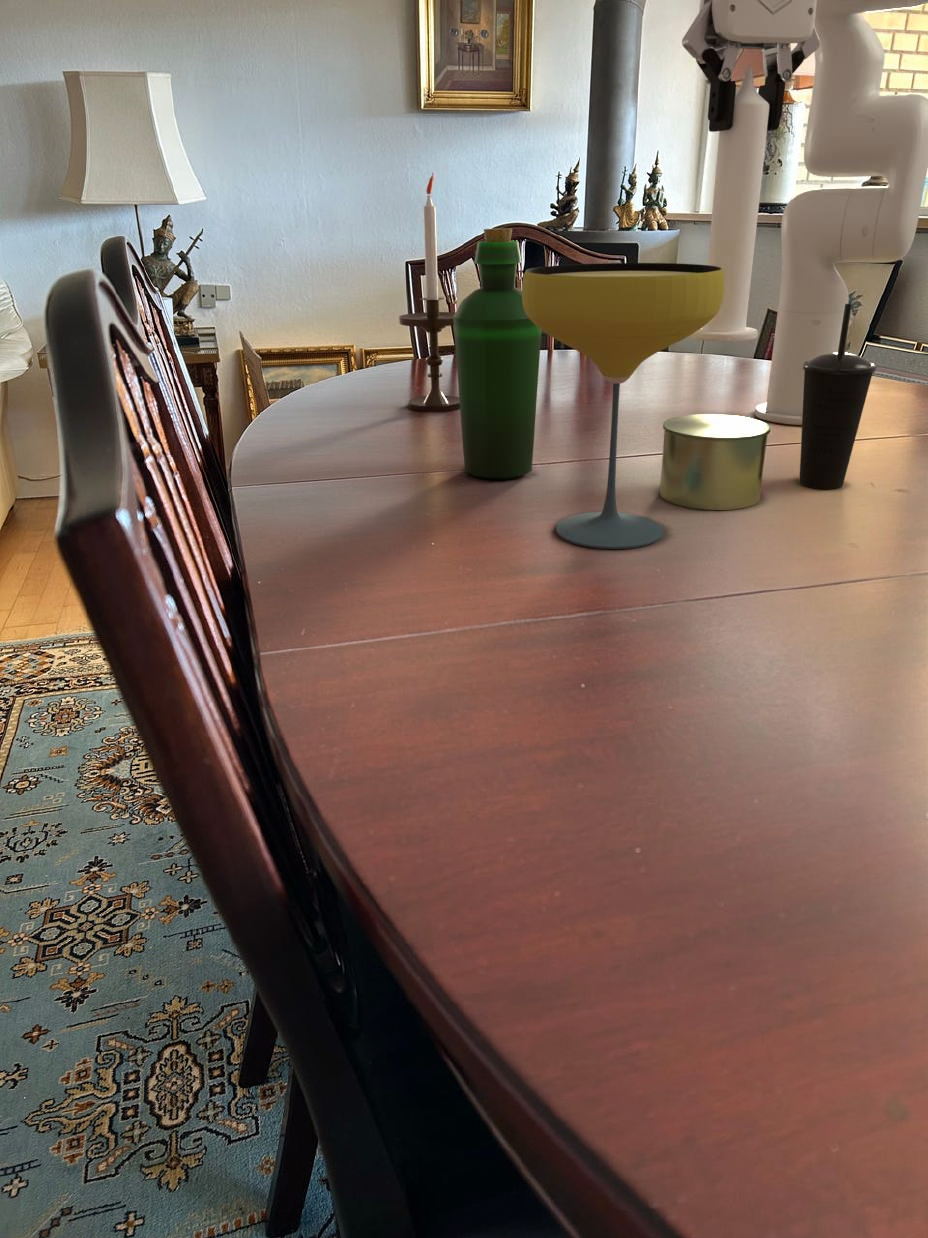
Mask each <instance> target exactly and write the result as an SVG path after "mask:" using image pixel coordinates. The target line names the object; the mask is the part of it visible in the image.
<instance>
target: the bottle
mask: <svg viewBox="0 0 928 1238" xmlns="http://www.w3.org/2000/svg"><path fill="white" fill-rule="evenodd" d="M512 232H513V228H483V235H484V240H483V241H477V245H476V250H475V257H474V265H478V267H479V279H480V281H479V282H480V287H479V288H478V289H475V290H473V291H472V292H471V293H470V294H469V295H467V296H465V298H464V299H463V300H461V302H460V304H459V306H458V308H457V309H456V311H455V315H454V316H453V321H454V325H453V335H454V346H455V358H456V360H455V361H456V372H457V386H458V397H459V400H460V408H459V410H460V412H459V413H460V424H461V437H462V439H461V440H462V450H463V466H464V471H465V472H466V473H468V474H470V475H472V476H473V477H476V478H479V479H484V480H491V481H493V480H494V481H496V480H499V481H502V480H512V479H517V478H521V477H523V476H525V475H526V474H528V473H531V472H532V470H533V460H534V459H533V458H534V443H535V431H536V429H535V428H536V415H537V401H538V387H539V386H538V385H539V371H540V357H541V343H542V330H540V328H539V327H537V326H536V325H535V324H534V323H533V322H532V321H531V320H530V319H529V317H528V316H527V315H526V313H525V311H524V307H523V302H522V288H518V287H516V277H517V276H516V275H517V264H522V258H521V251H520V246H519V245H520V244H519V241H518V240H511V239H512Z"/></svg>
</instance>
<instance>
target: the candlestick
mask: <svg viewBox="0 0 928 1238" xmlns="http://www.w3.org/2000/svg"><path fill="white" fill-rule="evenodd" d="M433 183H434V172H431V177H430V178H429V180H428V184H427V186H426V190H425V192H426V195H427V196H426V201H425V205H423V206H422V209H423V212H422V213H423V236H424V238H423V239H424V261H425V262H424V265H425V266H424V267H425V294H426V297H421V298H420V300H421V301H425V309H426V311H425V312H413V313H406V314H401V315H399V316H398V320H399V321H398V322H399V325H401V326H407V327H415V328H416V327H417V328H419V327H420V328H421V329H422V330H424V332H425V333H428V334H429V356H427V357H426V358H425V362H426V365H427V366H429V373H428V374H427V377H428V378H430V390H429V392H428V394H427V395H423V396H417V397H414V398H410V399H409V400H408V408H409V409H410V410H413V411H415V412H416V411H418V412H425V413H433V412H434V413H435V412H436V413H438V412H439V413H440V412H450V411H456V410H460V400H459V396H455V395H446V394H444V393H443V391H442V390H441V388H440V378H442V377H443V373H441V372H440V366H442V364H443V362H444V359H443V357H442V356H440V355H439V333H440V332H442V331H443V329H445V328H447V327H450V326H452V327H453V326H454V321H453V316H454V315H455V313H456V311H455V312H454V311H440V301H441V300H445V299H446V298H445V297H439V281H438V279H439V278H438V248H437V215H436V205H433V200H432V196H431V194H432V190H433Z"/></svg>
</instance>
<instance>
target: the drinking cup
mask: <svg viewBox="0 0 928 1238" xmlns="http://www.w3.org/2000/svg"><path fill="white" fill-rule="evenodd" d="M852 306H853V304H852V303H848V304H845V308H844V315H843V322H842V328H841V335H840V342H839V348H838V353H829V354H824V355H821V356H818V357H816V358H814V359H812V360H809V361H806V362H804V363H803V366H802V368H803V369H804V370H805V372H804V393H803V415H802V425H801V437H800V439H801V440H800V460H799V480H798V481H799V484H800V485H802V486H804V487H808V488H812V489H817V490H835V489H840V488H842V487H843V486H844V482H845V479H846V475H847V471H848V467H849V464H850V460H851V457H852V452H853V449H854V445H855V441H856V437H857V434H858V431H859V426H860V423H861V419H862V415H863V411H864V407H865V402H866V400H867V396H868V392H869V389H870V384H871V380H872V377H873V373H875V372H876V371H877V365H876V363H875V364H874V363H872V362H870V361H869V360H867V359H866V358H864V357H862V356H860V355H857V354H853V353H848V352H845V351H846V346H847V345H846V344H847V338H848V333H849V325H850V318H851V313H852Z"/></svg>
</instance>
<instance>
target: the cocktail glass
mask: <svg viewBox="0 0 928 1238" xmlns="http://www.w3.org/2000/svg"><path fill="white" fill-rule="evenodd" d="M523 273H524V274H523V276H522V284H521V290H522V302H523V307H524V311H525V313H526V315H527V316H528V317H529V319H530V320H531V321H532V322H533V323H534V324H535V325H536V326H537V327H539V328H540V330H541V332H544V333H545V334H547V336H549V337H551V338H553V339H555V340H556V341H558V342H560V343H562V344H564V345H566V346H567V347H569V348H572V349H573V350H575V351H576V352H578V353H580V354H582V355H583V356H585V357H586V358H588V359H589V360H591V362H593V363H594V364H595V366H596V367H597V369H598V371H599V372H600V374H601V375H602V376H603V378H604V379H605V380H606V381H607V382H608V383H610V384H612V402H611V423H610V439H609V441H610V442H609V455H608V456H609V458H608V471H607V473H608V474H607V483H606V485H607V486H606V493H605V499H604V503H603V504H604V505H603V508H602V511H593V512H592V511H591V512H584V513H579V514H574V515H570V516H568V517H565V518H563V519H561V520H560V521H558V523H557V524H556V526H555V527H556V528H555V531H556V533H557V534H558V537H560V538H561V539H563V541H566V542H568V543H571V544H574V545H578V546H581V547H587V548H591V549H600V550H602V549H603V550H627V549H637V548H641V547H645V546H648V545H651V544H653V543H656V542H658V541H659V540H660V539H661V538H662V537H663V534H664V529H663V526H661V524H660V523H658V522H657V521H656V520H653V519H651V518H648V517H647V516H642V515H639V514H633V513H629V512H627V513H626V512H619V511H618V506H617V498H616V497H617V496H616V495H617V494H616V493H617V492H616V477H617V476H616V475H617V450H618V449H617V447H618V426H619V425H618V424H619V405H620V404H619V403H620V390H621V389H620V388H621V384H623V383H625V382H627V381H628V380H630V378H631V376H632V375H633V374H634V373H635V371H636V370H637V369H638V368H639V367H640V365H641V364H642V363H643V362H645V361H646V360H647V359H649V358H651V357H652V356H653V355H655V354H657V353H659V352H660V351H663V350H665V349H666V348H669V347H671V346H673V345H675V344H677V343H679V342H681V341H683V340H684V339H686V338H688V337H690V335H692V334H693V333H695V332H696V331H698V330H700V329H701V328H702V327H703V326H705V325H706V324H707V323H708V322H709V321H710V320H712V319H713V318H714V317H715V315H716V314H717V313H718V311H719V309H720V307H721V304H722V300H723V294H724V273H723V270H722V268H720V267H716V266H710V265H708V264H698V263H697V264H696V263H677V262H676V263H675V262H604V263H577V264H576V263H575V264H559V265H548V266H547V265H546V266H539V267H532V268H527V269H526V270H525V272H523Z"/></svg>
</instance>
